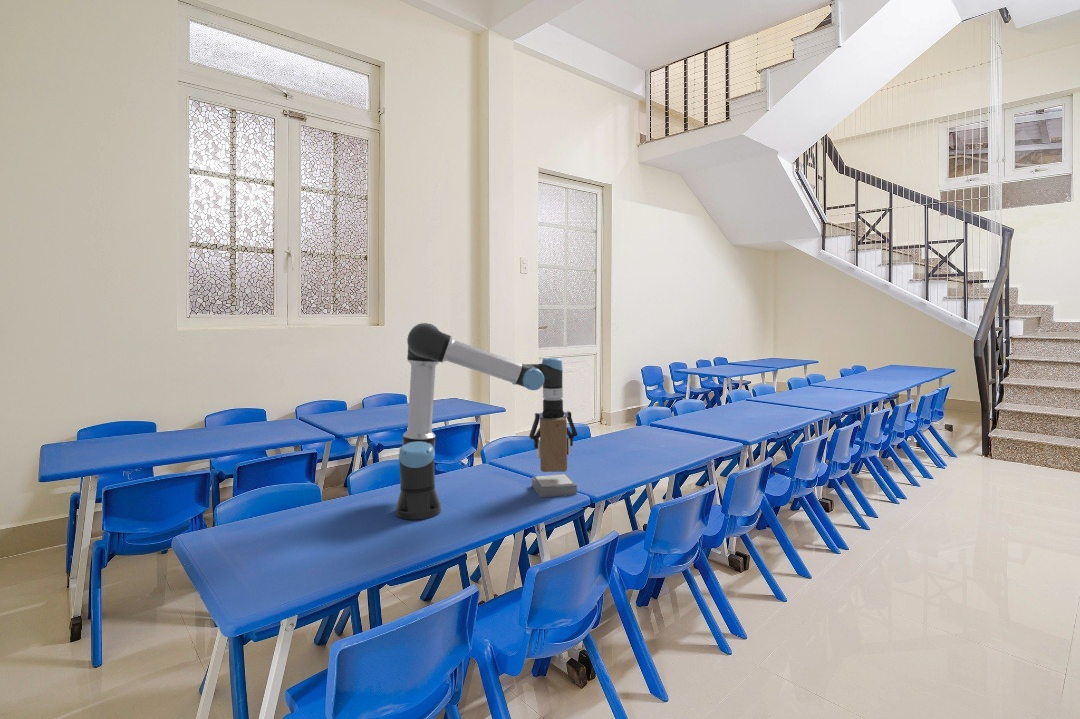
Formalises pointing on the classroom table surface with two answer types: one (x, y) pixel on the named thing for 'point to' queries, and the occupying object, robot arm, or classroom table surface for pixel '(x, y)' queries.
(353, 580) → the classroom table surface
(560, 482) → the base
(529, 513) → the classroom table surface
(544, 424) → the wooden block
